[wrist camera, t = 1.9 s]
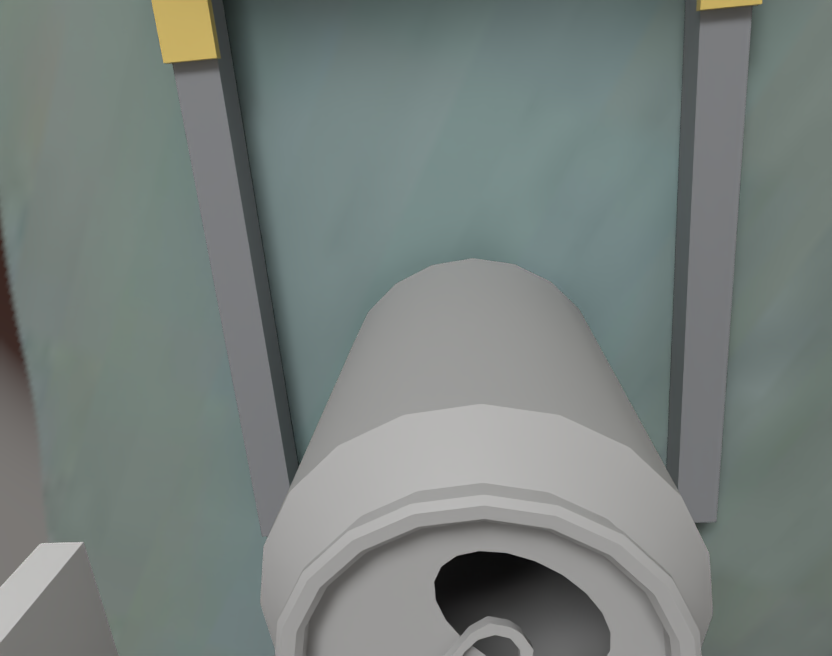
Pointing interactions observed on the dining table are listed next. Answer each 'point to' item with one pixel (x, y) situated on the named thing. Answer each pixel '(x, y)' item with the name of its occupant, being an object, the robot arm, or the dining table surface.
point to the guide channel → (694, 255)
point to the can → (482, 491)
